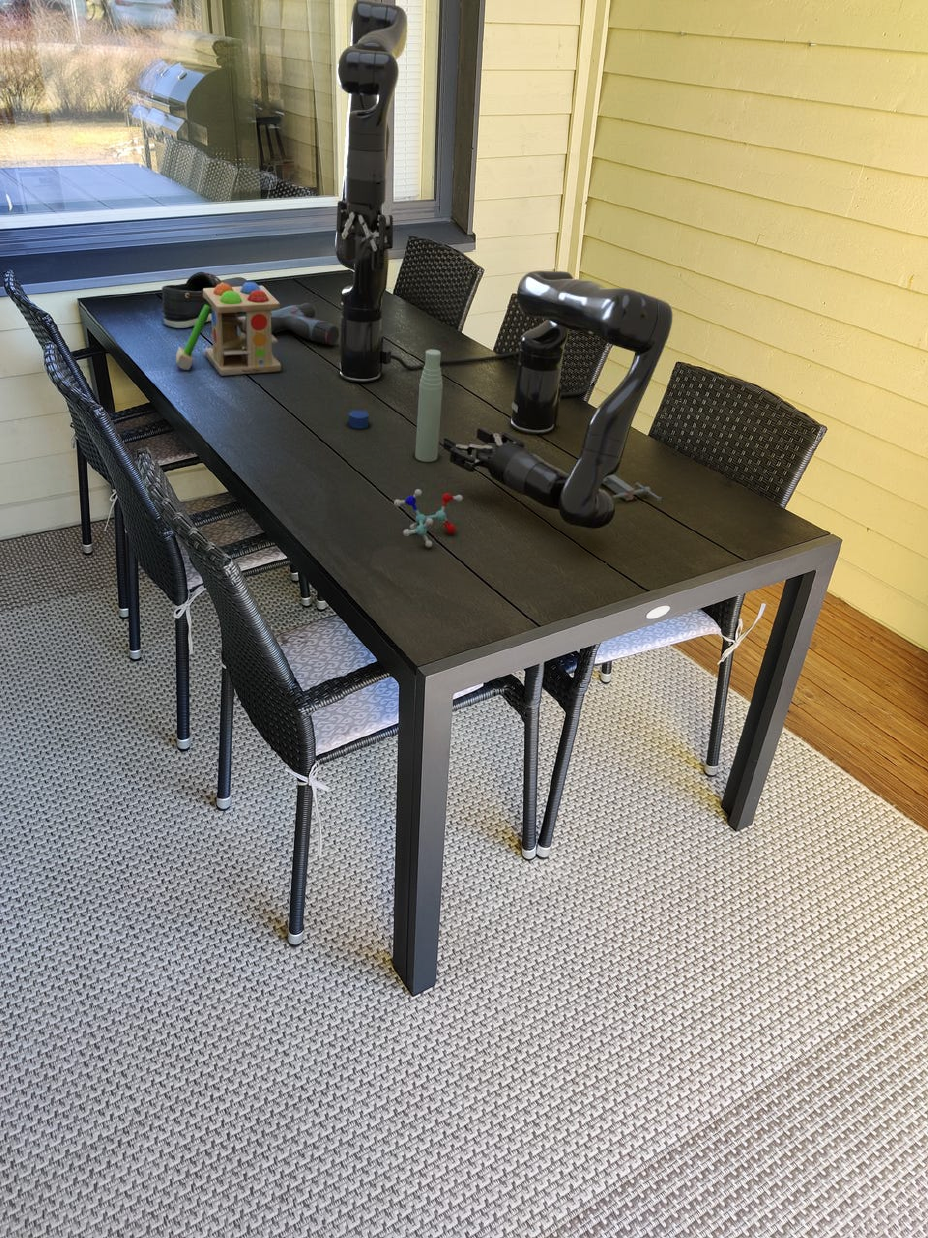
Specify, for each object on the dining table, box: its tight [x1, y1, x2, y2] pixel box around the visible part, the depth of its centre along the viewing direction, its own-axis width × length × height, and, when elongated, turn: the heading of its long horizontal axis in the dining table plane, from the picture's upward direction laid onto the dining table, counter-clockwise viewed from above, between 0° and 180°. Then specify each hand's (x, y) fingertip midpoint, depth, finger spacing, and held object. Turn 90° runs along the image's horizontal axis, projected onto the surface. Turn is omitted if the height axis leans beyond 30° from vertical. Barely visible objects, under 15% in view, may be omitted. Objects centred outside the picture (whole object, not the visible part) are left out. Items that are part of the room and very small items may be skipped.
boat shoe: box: [160, 271, 249, 329], centre depth 258 cm, size 13×33×10 cm, turn 147°
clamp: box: [602, 474, 663, 503], centre depth 191 cm, size 15×2×10 cm
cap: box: [348, 409, 370, 430], centre depth 208 cm, size 4×4×2 cm
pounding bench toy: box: [174, 281, 282, 377], centre depth 225 cm, size 23×14×18 cm, turn 116°
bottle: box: [414, 349, 444, 463], centre depth 192 cm, size 4×4×22 cm
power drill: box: [271, 302, 340, 346], centre depth 252 cm, size 5×19×20 cm
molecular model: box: [393, 488, 464, 548], centre depth 169 cm, size 12×10×10 cm
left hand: (363, 264), depth 190 cm, fingers open, 8 cm apart
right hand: (461, 437), depth 187 cm, fingers open, 8 cm apart
